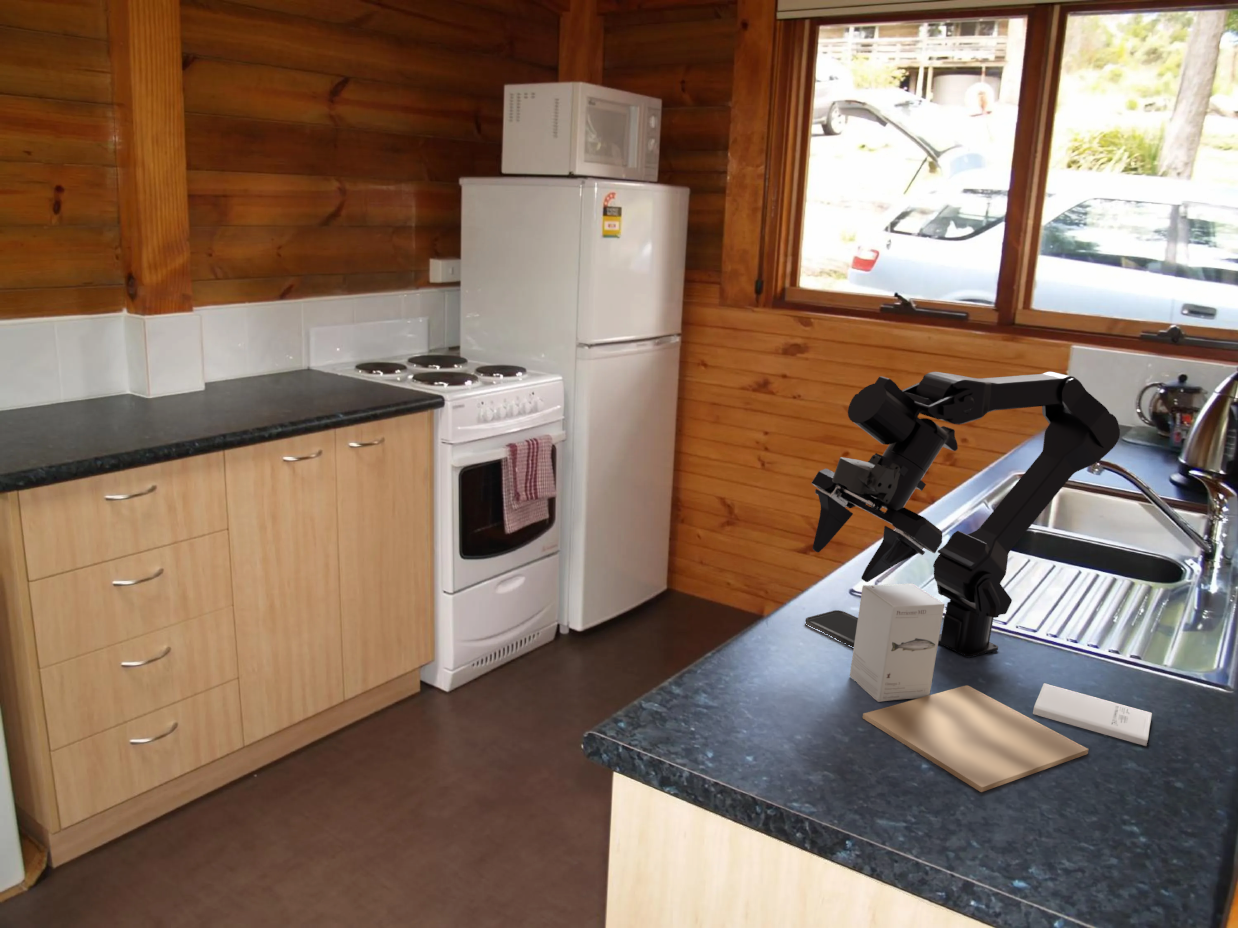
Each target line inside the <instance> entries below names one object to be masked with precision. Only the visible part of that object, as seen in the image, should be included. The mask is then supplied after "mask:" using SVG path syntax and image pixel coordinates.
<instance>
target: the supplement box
mask: <svg viewBox="0 0 1238 928" xmlns="http://www.w3.org/2000/svg"><path fill="white" fill-rule="evenodd" d="M861 587H862V588H861V595H860V601H859V607H858V609H859V610H858V616H857V618H858V622H857V629H856V636H855V643H854V649H853V652H852V656H851V657H852V659H851V663H850V672H849V677H850V678H851V679H852V680H853V679H854V680H853V681H854V682H855V681H856V682H857V683H856V682H855V683H856V684H858V686H860V687H861V688H862V689H863V691H865V692H866V693H867V694H869V696H871V697H872V698H873V699H874V700H875V701H876V702H878V703H881V702H887V701H888V702H889V701H899V700H915V699H918V698H922V697H926V696H929V695H931V688H932V682H933V677H934V670H935V666H936V665H935V663H936V658H937V651H938V648H939V647H938V646H939V643H938V641H939V635H940V634H941V630H942V624H943V618H944V610H945V605H946V604H945V603H944V602H943V601H941V600H939V599H938V598H937V597H935V596H933V595H931V594H930V593H929V592H927V591H925V590H924V589H922V588H921V587H919V586H917V585H916V584H914V583H895V584H894V583H892V584H867V585H866V584H865V585H862V586H861Z"/></svg>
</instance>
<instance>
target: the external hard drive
mask: <svg viewBox="0 0 1238 928" xmlns="http://www.w3.org/2000/svg"><path fill="white" fill-rule="evenodd" d="M1032 715H1035V716H1039V717H1043V718H1046V719H1050V720H1053V721H1057V722H1060V723H1062V724H1067V725H1070V726H1074V727H1077V728H1081V729H1085V730H1089V731H1092V732H1094V733H1099V734H1102V735H1106V736H1110V737H1113V738H1117V739H1120V740H1122V741H1123V740H1124V741H1127V742H1130V743H1133V744H1138V745H1141V746H1143V747H1147V745H1148V744H1147V743H1148V740H1149V734H1150V728H1151V721H1152V716H1153V713H1152V712H1150V711H1146V710H1142V709H1139V708H1135V707H1131V706H1129V705H1128V706H1127V705H1124V704H1121V703H1118V702H1114V701H1110V700H1106V699H1103V698H1099V697H1095V696H1092V695H1089V694H1085V693H1082V692H1081V693H1080V692H1077V691H1074V690H1070V689H1066V688H1063V687H1060V686H1055V685H1052V684H1048V683H1045V682H1044V683H1043V684H1042V687H1041V689H1040V692H1039V694H1038V696H1037V699H1036V701H1035V703H1034V706H1033V710H1032Z"/></svg>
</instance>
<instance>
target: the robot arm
mask: <svg viewBox="0 0 1238 928" xmlns="http://www.w3.org/2000/svg"><path fill="white" fill-rule="evenodd" d="M1035 407H1036V408H1037V407H1039V408H1040V407H1042V408H1041V412H1042V416H1043V417H1044V419H1045V420H1046V421H1047V422H1048V426H1047V428H1046V429H1045V430H1044V434H1043V435H1044V436H1043V443H1042V444H1043V445H1042V451H1041V452H1040V454H1039V455H1038V456H1037V458H1036V459H1035V460H1034V461H1033V462H1032V463H1031V465H1030V466H1029V467H1028V468H1027V470H1026V471H1025V472H1024V473H1023V474H1022V476H1021V477H1020V478H1019V479H1018V480H1017V482H1016V483H1015V484H1014V486H1012V488H1011V489H1010V490H1009V491H1008V493H1006V495H1005V497H1003V499H1002V500H1001V501H1000V502H999V504H998V505H997V506H996V507H995V508H994V510H993V511H992V512H991V513H990V514H989V516H988V517H987V518H986V519H985V521H984V522H983V523H982V524H981V525H980V527H978V529H977V530H975V531H972V532H970V533H968V534H967V533H965V532H963V531H960V530H956V531H955V532H954V533H952V534H951V536H950V538H949V539H948V541H947V542H946V543H945V544H944V546H942V547H941V544H942V542H943V531H942V530H941V529H939V528H938V527H937V526H936V525H935V524H933V523H932V522H931V521H930V520H928V519H927V518H926V517H924V516H922V515H920V514H918V513H916V512H914V511H913V510H911V509H909V508H906V507H905V506H906V504H907V503H908V501H909V499H910V498H911V496H912V495H913V493H914V492H915V490H919V491H921V492H922V491H923V490H924V489H925V487H926V485H927V484H926V483H925V482H924V481H923V480H922V479H923V478H924V476H925V475H926V473H927V472H928V470H930V467H931V466H932V464H933V462H934V461H935V459H936V458H937V456H938V455H939V453H940V452H941V450H942V448H945V449H948V450H950V451H953V452H956V451H958V449H959V447H958V441H957V439H956V435H955V434H956V430H955V429H954V428H951V427H948V426H945V425H943V426H940V425H939V424H937V423H936V422H935V421H933V420H932V419H936V420H940V421H943V422H947V423H950V424H952V425H963V424H967V423H971V422H974V421H977V420H980V419H982V418H983V417H984V416H985V415H987V413H991V412H995V411H1003V410H1005V411H1006V410H1014V409H1015V410H1016V409H1025V408H1035ZM847 415H848V418H849V420H850V421H851V422H852V423H853V424H854V425H857V427H859V428H860V429H861V430H862V431H864V432H866V434H868V435H870V436H871V437H872V438H873V439H875V441H877V442H878V443H879V444H881V445H884V446H885V445H886V449H885V450H884V452H883V454H882V455H881V454H879V453H877V452H875V453H874V454H872V456H871V457H870V458H869V460H868V461H865V460H860V459H854V458H848V457H842V456H841V457H839V460H838V462H837V465H836V468H835V471H833V470H831V469H828V467H827V468H826V467H825V468H824V469H821V470H819V471H818V472H817V474H816V475H815V476H814V478H813V480H812V481H811V483H810V484H812V485H813V486H814V487H816V488H815V489H814V490H815V491H814V494H816V495H817V496H818V500H819V504H820V510H819V511H820V512H819V518H818V523H817V526H816V527H817V528H816V531H815V536H814V540H813V545H812V550H813V551H815V552H816V553H820V552H822V550H823V549H824V548H825V547H826V546H827V545H828V544H829V543H830V542H831V540H833V538H834V537H835V536H836V535H837V533H838V532H839V531H840V530H841V529H842V528H843V527H844V525H846V523H847V522H848V521H849V519H851V517H852V516H853V515H854V513H853V512H852V511H850V510H849V509H852V508H855V507H858V508H860V509H861V510H864V511H865V512H868V513H869V514H872V515H873V516H874V517H877V518H878V519H881V520H882V521H884V522H886V523H888V524H890V525H892V527H894V529H892V528H891V527H888V526H887V525H884V528H883V536H882V541H881V543H880V544H879V547H878V548H877V550H876V551H875V553H874V555H872V558H871V559H870V560H869V562H868V564H867V566H866V567H865V568H864V571H863V573H862V575H861V580H862V581H863V582H865V583H868V582H870V581H872V580H873V579H875V578H877V577H879V576H880V575H882V574H883V573H884V572H886V571H888V570H890V569H891V568H893V567H894V566H896V565H898V564H900V563H902V562H903V561H906V560H908V559H910V558H912V557H914V556H916V555H917V554H918V555H921V556H923V555H925V553H926V551H924V550H927V551H929V552H931V553H932V554H936V552H937V553H938V556H937V557H936V559H935V560H934V562H933V566H932V567H933V577H934V578H933V579H934V581H935V582H936V588H937V594H939V595H940V596H943V597H946V598H947V599H949V601H948V602H946V609H945V614H943V620H942V626H941V632H940V635H939V641H938V644H940V645H942V646H944V647H946V648H948V649H950V650H952V651H954V652H956V653H958V654H960V655H962V656H964V657H966V658H972V657H977V656H979V655H984V654H987V653H991V652H995V651H998V650H999V646H998V645H996V644H995V643H992V642H991V641H990V640H991V635H992V630H993V629H992V628H993V623H994V618H995V619H996V618H999V616H1000V615H1006V614H1007V613H1008V611H1009V608H1010V606H1011V604H1012V602H1013V599H1012V597H1010V595H1009V594H1008V592H1007V591H1006V589H1005V588H1004V587H1003V585H1002V584H1001V583H1002V581H1003V580H1004V578H1005V576H1006V574H1007V567H1008V560H1009V553H1010V552H1011V550H1012V549H1013V548H1014V547H1015V546H1016V545H1017V543H1018V542H1019V540H1020V539H1021V538H1022V537H1023V536H1024V535H1025V533H1026V532H1027V531H1028V530H1029V529H1030V527H1031V526H1032V524H1034V522H1035V521H1037V519H1038V518H1039V516H1040V515H1041V514H1042V513H1043V511H1044V510H1045V509H1046V507H1048V505H1049V504H1050V503H1051V502H1052V500H1053V499H1054V498H1055V497H1056V496H1057V495H1058V494H1059V492H1060V490H1061V489H1063V487H1064V486H1065V484H1067V482H1068V481H1069V480H1070V478H1071V477H1072V476H1073V475H1074V474H1075V473H1077V472H1079V471H1081V470H1084V469H1086V468H1089V467H1091V466H1093V465H1095V464H1096V465H1097V464H1098V463H1099V462H1100V461H1101V460H1102V459H1103V458H1104V457H1105V456H1106V455H1107V454H1109V453H1110V451H1111V452H1112V450H1113V449H1114V448H1115V447H1116V445H1117V443H1118V441H1119V439H1120V435H1121V432H1120V431H1121V429H1120V427H1119V421H1118V419H1117V416H1115V415H1114V414H1113V413H1110V411H1109V410H1108V409H1107V407H1106V406H1105V405H1103V404H1102V403H1101V402H1100V401H1099V400H1098V399H1097V398H1095V397H1094V395H1092V394H1091V393H1090V392H1088V391H1087V390H1086V388H1085V387H1084V385H1083V384H1082V382H1081V381H1080V380H1079V379H1077V377H1075V376H1072V375H1067V374H1063V373H1059V372H1054V371H1046V372H1044V373H1039V374H1035V373H1034V374H1024V375H1022V374H1021V375H1011V376H1000V377H999V376H998V377H996V376H995V377H984V378H976V377H970V376H966V375H965V376H963V375H959V374H955V373H954V374H953V373H947V372H946V373H945V372H940V371H931V372H928V373H926V374H924V375H923V377H922V379H921V380H920V381H919V382H917V383H915V384H913V385H910V386H909V387H906V388H903V389H901V388H900V387H899V386H898V385H897V383H896V382H894V380H892V379H891V378H888V377H885V376H883V375H882V376H878V378H877V379H876V381H875V383H872V384H868V385H866V386H865V387H864V388H862V389H861V390H860V391H859V392H858V393H856V394H854V395H853V396H852V398H851V399H850V402H849V405H848V408H847ZM919 415H923V416H927V417H929V418H926V417H925V418H924V417H923V418H919ZM887 445H888V446H887ZM882 508H884V509H885V511H883V510H881V509H882ZM940 547H941V548H940ZM923 549H924V550H923Z"/></svg>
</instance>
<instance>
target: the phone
mask: <svg viewBox="0 0 1238 928" xmlns="http://www.w3.org/2000/svg"><path fill="white" fill-rule="evenodd" d="M805 622H806V624H807V625H809V626H811V627H813V628H815V629H818V630H820V631H822V632H824V633H825V634H828V635H830V636H832V637H833V638H836V639H837V640H839V641H841V642H843V643H846V644H847V645H850V646H852V647H854V643H855V636H856V629H857V622H858V616H855V615H853V614H850V613H848V612H846V611H844V610H840V609H839V610H837V609H835V610H831V611H828V612H823V613H820V614H816V615H812V616H808V617H805ZM847 645H846V646H847Z"/></svg>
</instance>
